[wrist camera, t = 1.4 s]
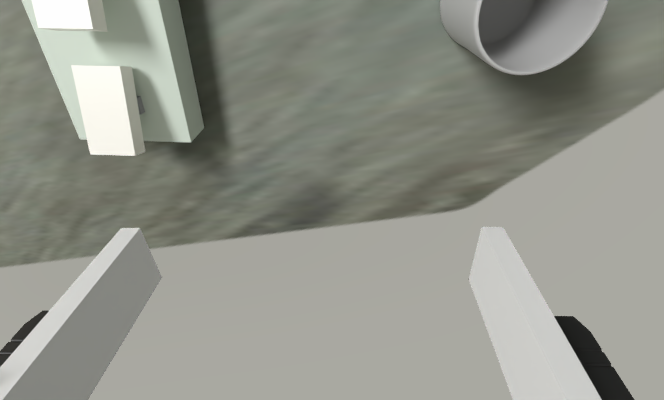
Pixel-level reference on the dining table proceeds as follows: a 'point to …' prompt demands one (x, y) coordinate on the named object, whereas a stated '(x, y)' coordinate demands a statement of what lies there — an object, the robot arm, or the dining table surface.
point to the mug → (522, 30)
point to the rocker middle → (70, 15)
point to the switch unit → (133, 64)
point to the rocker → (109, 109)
